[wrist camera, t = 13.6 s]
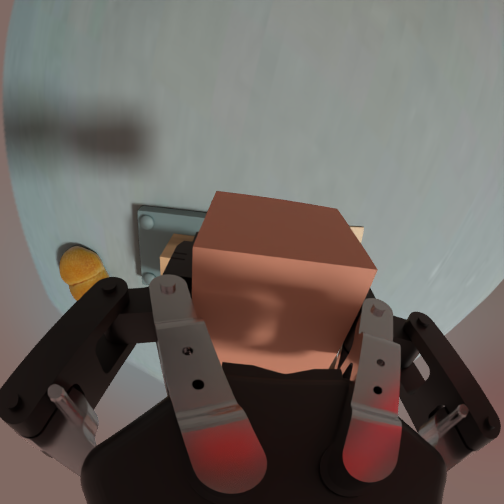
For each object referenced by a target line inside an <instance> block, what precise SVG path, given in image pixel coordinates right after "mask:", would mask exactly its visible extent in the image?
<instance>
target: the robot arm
mask: <svg viewBox="0 0 504 504" xmlns="http://www.w3.org/2000/svg"><path fill="white" fill-rule="evenodd" d="M198 233H199V232H196V234H195V236H194V239H193V241H192V242H191V241H183V242H181V243H180V244H178V245H177V246H176V248H175V250H174V253H173V254H172V256H171V258H170V260H169V262H168V264H167V266H166V268H165V270H164V272H163V275H160V276H158V277H156V278H154V279H153V280H152V281H151V282H150V284H149V287H145V288H133V289H128V286H127V283H126V282H125V281H124V280H123V279H121V278H117V277H107V278H103V279H101V280H99V281H97V282H96V283H95V284H94V285H93V286H92V287H91V288H90V289H89V290H88V291H87V292H86V293H85V294H84V295H83V296H82V297H81V298H80V299H79V300H78V301H77V302H76V303H75V304H74V305H73V306H72V307H71V308H70V309H69V310H68V311H67V312H66V313H65V314H64V315H63V316H62V317H61V319H59V321H57V323H56V324H55V325H54V326H53V327H52V328H51V329H50V330H49V331H48V332H47V333H46V335H45V336H44V337H43V338H42V339H41V340H40V341H39V343H38V344H37V345H36V346H35V347H34V348H33V349H32V350H31V352H30V353H29V354H28V355H27V356H26V357H25V359H24V360H23V361H22V362H21V364H20V365H19V366H18V367H17V368H16V370H15V371H14V372H13V373H12V375H11V376H10V377H9V378H8V380H7V381H6V382H5V384H4V385H3V386H2V388H1V389H0V417H1V418H2V419H3V420H4V421H5V422H6V423H7V424H8V425H9V426H10V427H11V428H13V429H14V431H15V432H16V433H17V434H18V435H19V436H21V437H22V438H23V439H24V440H25V441H27V442H28V443H29V444H31V445H32V446H33V447H35V448H36V449H38V450H40V451H42V452H43V453H44V454H46V455H47V456H49V457H51V458H54V459H56V460H57V461H58V462H60V463H61V464H62V465H64V466H65V467H67V468H68V469H69V470H71V471H72V472H74V473H76V474H77V475H79V476H80V477H81V486H82V490H83V492H84V496H85V498H86V501H87V504H442V498H443V492H444V487H445V483H446V475H447V471H448V470H450V469H451V468H452V467H454V466H455V465H456V464H458V463H459V462H461V461H463V460H464V459H466V458H468V457H469V456H471V455H472V454H474V453H475V452H477V451H478V450H480V449H481V448H483V447H484V446H485V445H487V444H488V443H490V442H491V441H492V440H494V439H495V438H496V437H497V436H498V435H499V433H500V427H501V425H500V420H499V418H498V415H497V414H496V412H495V410H494V409H493V407H492V405H491V404H490V402H489V400H488V399H487V397H486V395H485V394H484V392H483V391H482V389H481V387H480V386H479V384H478V383H477V381H476V380H475V378H474V377H473V375H472V374H471V372H470V371H469V369H468V368H467V367H466V365H465V364H464V362H463V361H462V359H461V358H460V357H459V355H458V354H457V352H456V351H455V350H454V348H453V347H452V346H451V344H450V343H449V341H448V340H447V339H446V338H445V336H444V335H443V334H442V332H441V331H440V330H439V328H438V327H437V326H436V325H435V323H434V322H433V321H432V320H431V318H429V317H428V316H427V315H425V314H423V313H421V312H412V313H411V314H410V315H409V317H408V319H407V320H406V319H402V318H399V317H396V316H393V312H392V309H391V308H390V306H389V305H387V304H386V303H385V302H383V301H381V300H379V299H376V298H375V296H374V294H373V292H372V291H371V289H370V288H369V291H368V293H367V295H366V297H365V299H364V302H363V304H362V306H361V308H360V310H359V312H358V314H357V316H356V318H355V320H354V322H353V324H352V326H351V328H350V330H349V332H348V334H347V336H346V338H345V340H344V342H343V344H342V346H341V347H340V349H339V353H338V357H337V361H336V365H335V369H311V370H305V371H300V372H295V373H289V374H283V373H279V372H275V371H272V370H268V369H265V368H261V367H258V366H254V365H246V364H237V363H228V362H222V366H221V364H220V361H219V359H218V356H217V354H216V351H215V348H214V346H213V343H212V341H211V338H210V335H209V333H208V330H207V327H206V325H205V322H204V320H203V318H198V317H197V314H196V311H195V308H194V305H193V302H192V258H193V245H194V243H195V240H196V238H197V235H198ZM147 342H156V344H157V349H158V355H159V359H160V364H161V369H162V374H163V378H164V383H165V387H166V392H167V397H166V398H165V399H163V400H162V401H161V402H159V403H158V404H157V405H155V406H154V407H152V408H151V409H150V410H148V411H147V412H145V413H144V414H143V415H141V416H140V417H138V418H137V419H136V420H134V421H133V422H132V423H130V424H129V425H127V426H126V427H124V428H123V429H121V430H120V431H118V432H117V433H115V434H114V435H112V436H111V437H109V438H108V439H106V440H105V441H103V442H102V443H100V444H99V445H97V446H96V442H95V434H96V432H97V429H98V417H97V415H96V413H95V411H94V408H95V407H96V405H97V404H98V402H99V401H100V399H101V397H102V396H103V394H104V393H105V391H106V389H107V388H108V386H109V385H110V383H111V382H112V380H113V379H114V377H115V375H116V374H117V372H118V371H119V369H120V368H121V366H122V365H123V363H124V362H125V360H126V359H127V357H128V356H129V354H130V353H131V351H132V350H133V348H134V347H135V345H136V343H147ZM419 353H420V354H421V356H422V357H423V359H424V360H425V362H426V363H427V365H428V366H429V369H430V375H429V378H428V379H427V380H426V381H425V380H424V378H423V377H422V375H421V374H420V372H419V370H418V369H417V367H416V366H415V364H414V363H413V361H414V360H415V358H416V357H417V356H418V354H419ZM399 397H400V399H401V401H402V403H403V404H404V407H405V409H406V410H407V412H408V414H409V416H410V418H411V420H412V422H413V424H414V426H415V428H416V430H417V432H418V433H417V432H416V431H414V430H413V429H412V428H411V427H410V426H409V425H407V424H406V423H405V422H404V421H403V420H401V418H399V417H398V404H399Z"/></svg>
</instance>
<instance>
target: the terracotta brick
mask: <svg viewBox="0 0 504 504" xmlns="http://www.w3.org/2000/svg"><path fill="white" fill-rule="evenodd" d="M376 272H377V268H376V267H375V265H374V263H373V262H372V260H371V259H370V257H369V255H368V254H367V252H366V251H365V249H364V248H363V246H362V245H361V243H360V242H359V240H358V239H357V237H356V236H355V234H354V233H353V231H352V230H351V228H350V227H349V225H348V224H347V222H346V221H345V219H344V218H343V216H342V215H341V214H340V212H339V211H338V209H335V208H329V207H323V206H318V205H312V204H306V203H300V202H293V201H287V200H280V199H274V198H267V197H260V196H252V195H245V194H237V193H229V192H221V191H216V193H215V196H214V198H213V200H212V202H211V205H210V207H209V209H208V212H207V214H206V216H205V219H204V221H203V223H202V226H201V228H200V230H199V233H198V235H197V238H196V240H195V243H194V245H193V258H192V302H193V305H194V308H195V311H196V314H197V317H198V318H203V320H204V322H205V325H206V327H207V330H208V333H209V335H210V338H211V341H212V343H213V346H214V348H215V351H216V354H217V356H218V359H219V361H220V364H221V366H222V362H228V363H237V364H246V365H254V366H258V367H261V368H265V369H268V370H272V371H275V372H279V373H283V374H289V373H295V372H300V371H305V370H311V369H329V367H330V365H331V364H332V362H333V360H334V358H335V356H336V355H337V353H338V351H339V349H340V347H341V346H342V344H343V342H344V340H345V338H346V336H347V334H348V332H349V330H350V328H351V326H352V324H353V322H354V320H355V318H356V316H357V314H358V312H359V310H360V308H361V306H362V304H363V302H364V299H365V297H366V295H367V293H368V291H369V288H370V286H371V284H372V282H373V279H374V277H375V275H376Z"/></svg>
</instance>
